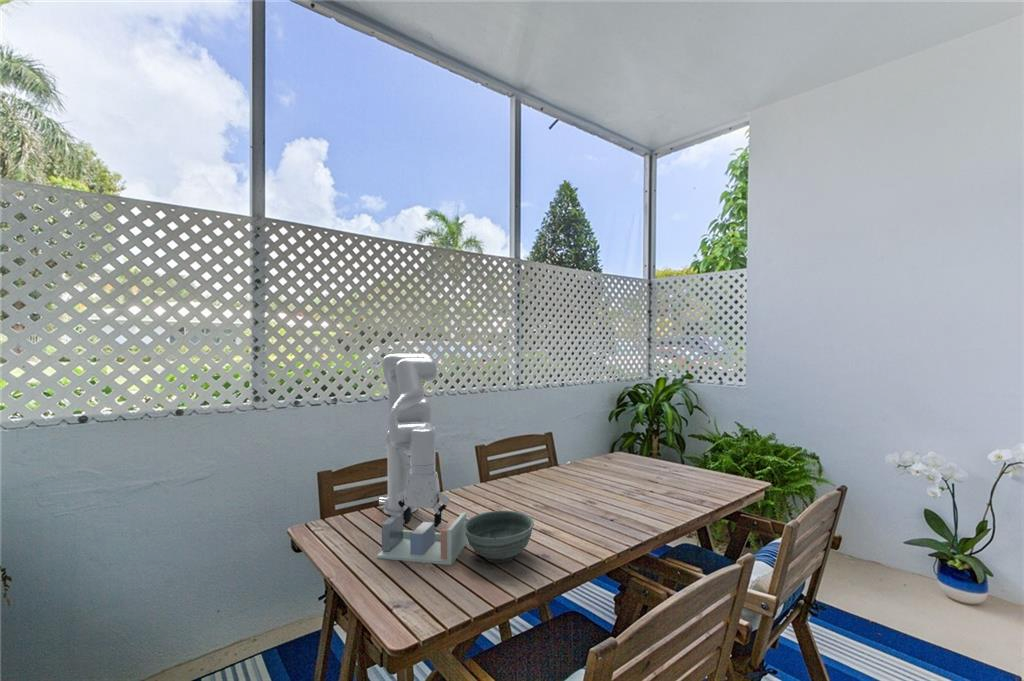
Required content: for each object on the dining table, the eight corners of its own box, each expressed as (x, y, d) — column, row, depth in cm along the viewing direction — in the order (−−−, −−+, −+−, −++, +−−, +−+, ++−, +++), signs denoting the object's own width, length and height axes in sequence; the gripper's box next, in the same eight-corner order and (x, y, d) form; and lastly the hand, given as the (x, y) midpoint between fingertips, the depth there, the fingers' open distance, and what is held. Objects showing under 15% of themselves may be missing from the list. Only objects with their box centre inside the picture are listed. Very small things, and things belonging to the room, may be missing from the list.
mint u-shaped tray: (376, 558, 130) (376, 524, 130) (398, 538, 143) (398, 507, 144) (451, 565, 125) (451, 530, 125) (466, 544, 139) (466, 512, 139)
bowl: (544, 567, 123) (544, 531, 124) (471, 578, 117) (470, 540, 118) (521, 537, 143) (521, 506, 144) (458, 546, 137) (457, 513, 138)
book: (410, 553, 130) (410, 533, 131) (422, 541, 139) (422, 521, 139) (422, 555, 130) (422, 534, 130) (434, 542, 138) (434, 522, 138)
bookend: (381, 550, 132) (381, 523, 132) (395, 538, 141) (395, 512, 141) (389, 551, 132) (389, 524, 132) (402, 538, 140) (402, 513, 141)
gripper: (390, 469, 133) (390, 526, 133) (445, 474, 130) (444, 532, 130) (402, 462, 141) (401, 516, 141) (453, 466, 137) (453, 521, 137)
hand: (422, 523), depth 135 cm, fingers open, 9 cm apart
